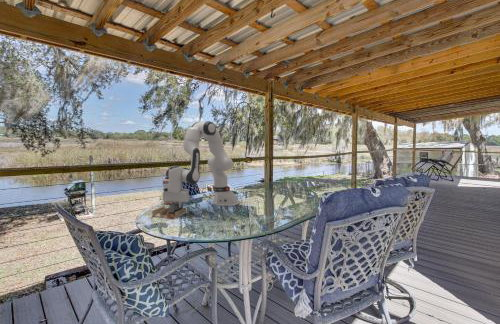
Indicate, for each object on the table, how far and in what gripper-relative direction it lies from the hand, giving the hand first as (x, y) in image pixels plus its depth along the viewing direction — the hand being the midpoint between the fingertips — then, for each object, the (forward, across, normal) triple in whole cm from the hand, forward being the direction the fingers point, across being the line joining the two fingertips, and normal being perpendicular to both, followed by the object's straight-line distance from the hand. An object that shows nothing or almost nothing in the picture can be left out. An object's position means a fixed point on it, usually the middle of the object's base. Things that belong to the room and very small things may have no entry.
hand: (176, 207), depth 201 cm
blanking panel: (+4, 0, 0) cm, 4 cm away
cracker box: (+6, +22, -30) cm, 38 cm away
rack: (+6, +6, 0) cm, 8 cm away
